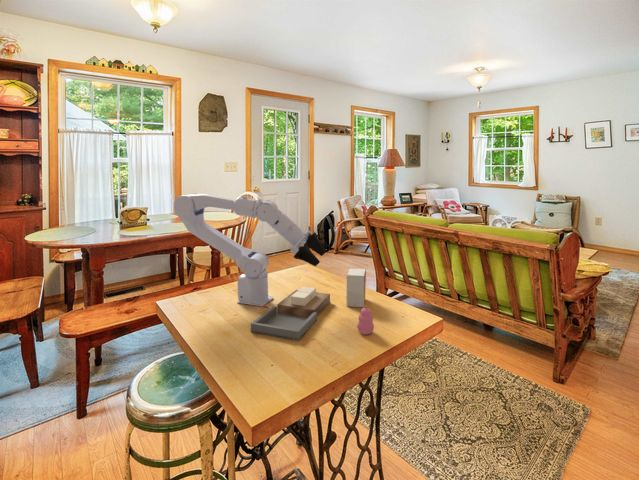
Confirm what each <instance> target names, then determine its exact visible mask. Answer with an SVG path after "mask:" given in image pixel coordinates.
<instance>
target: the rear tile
mask: <svg viewBox="0 0 639 480" xmlns="http://www.w3.org/2000/svg"><path fill="white" fill-rule="evenodd" d="M297 290H298V292H305V293H310V300H312V299H313V298H314V297H315V296H316V292H317V288H316V287H309V286H302V287H300V288H299V289H297Z"/></svg>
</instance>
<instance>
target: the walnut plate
mask: <svg viewBox="0 0 639 480" xmlns="http://www.w3.org/2000/svg"><path fill="white" fill-rule="evenodd" d="M298 290H299V289H294V291H292V293H290V294H289V295H288V296H286V297H284V299H282V300H281V301H280V302H278V303H277V304H276V309H277V313H281V314H287V315H293V316H300V317H306V318H308V317H309V316H310V315H311V314H312V313H313V312H316V313H317V317H318V316H319V315H320V314H321V313H322V312H323V311H324V310H325V309H326V308H327V306H329V305H330V303H331V294H330V293H326V292H325V293H324V292H318V291H316V296H315V297H314V298H313V299H312V300H310V302H308V303H307V304H306V305H305V306H301V305H294V304H291V296H292V295H293V294H294V293H296V292H297V291H298Z"/></svg>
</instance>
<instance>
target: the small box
mask: <svg viewBox="0 0 639 480" xmlns="http://www.w3.org/2000/svg"><path fill="white" fill-rule="evenodd" d="M366 277H367V270H366V269H365V268H351V267H350V268H349V269H348V272H347V274H346V307H347V308H348V307H349V308H350V307H353V308H364V307H365V302H366V286H367V284H366V280H367V278H366Z"/></svg>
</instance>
